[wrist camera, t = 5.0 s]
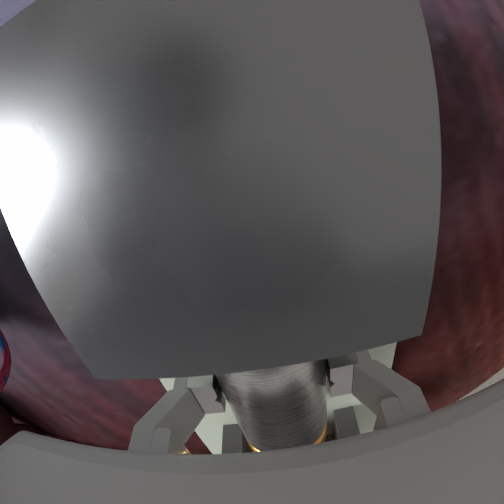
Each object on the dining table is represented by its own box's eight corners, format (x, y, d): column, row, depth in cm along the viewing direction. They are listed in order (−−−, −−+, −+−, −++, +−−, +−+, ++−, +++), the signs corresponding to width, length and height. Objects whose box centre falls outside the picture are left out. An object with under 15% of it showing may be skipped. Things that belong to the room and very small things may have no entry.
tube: (152, 104, 8) (91, 111, 5) (281, 75, 8) (305, 57, 4) (247, 406, 15) (248, 469, 12) (320, 395, 15) (332, 458, 11)
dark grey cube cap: (101, 64, 7) (-32, 55, 2) (313, 14, 7) (392, -71, 2) (155, 252, 11) (95, 379, 6) (344, 218, 10) (421, 334, 5)
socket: (222, 424, 16) (219, 512, 11) (352, 405, 16) (374, 493, 10) (239, 451, 18) (238, 524, 13) (348, 436, 18) (363, 508, 13)
